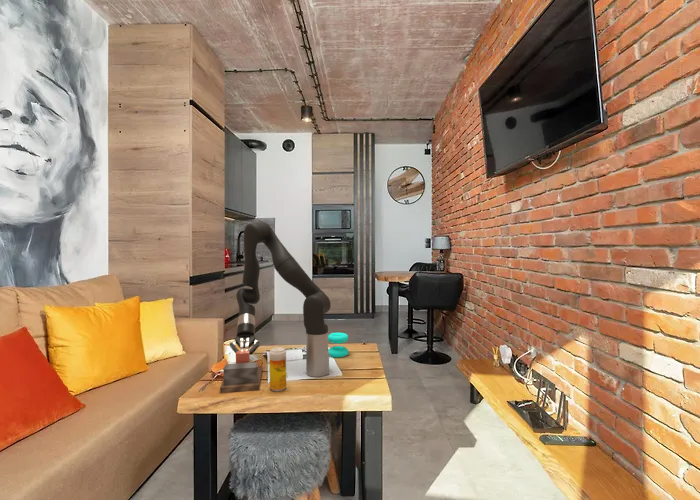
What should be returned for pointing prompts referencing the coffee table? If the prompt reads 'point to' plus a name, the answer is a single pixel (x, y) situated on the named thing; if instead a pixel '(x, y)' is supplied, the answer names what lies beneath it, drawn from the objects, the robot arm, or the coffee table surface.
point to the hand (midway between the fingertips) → (243, 363)
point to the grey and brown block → (241, 377)
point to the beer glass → (277, 369)
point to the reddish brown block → (243, 357)
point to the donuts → (338, 350)
